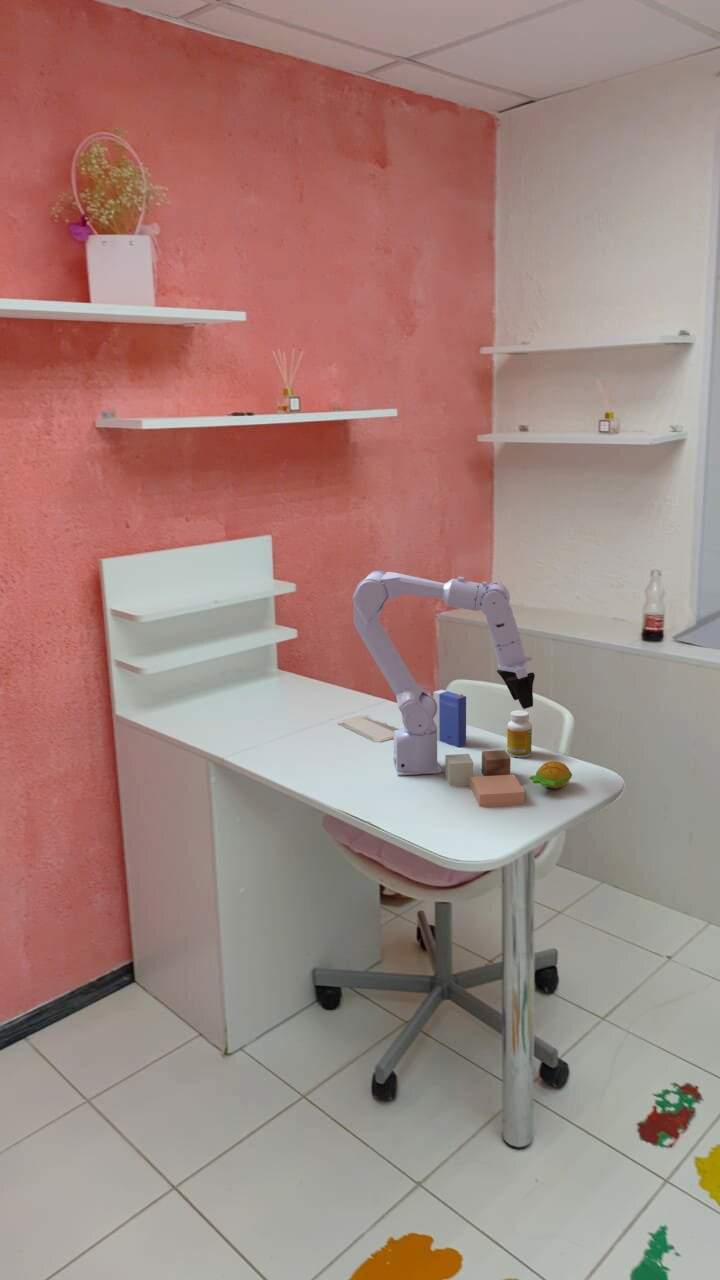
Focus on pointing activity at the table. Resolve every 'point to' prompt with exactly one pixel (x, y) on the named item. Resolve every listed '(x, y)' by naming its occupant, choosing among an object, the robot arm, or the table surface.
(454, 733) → the walkman
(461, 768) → the sage cube
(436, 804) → the table surface
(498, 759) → the walnut cube
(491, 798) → the tile block
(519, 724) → the supplement bottle
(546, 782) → the orange green rounded dome
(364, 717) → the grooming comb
